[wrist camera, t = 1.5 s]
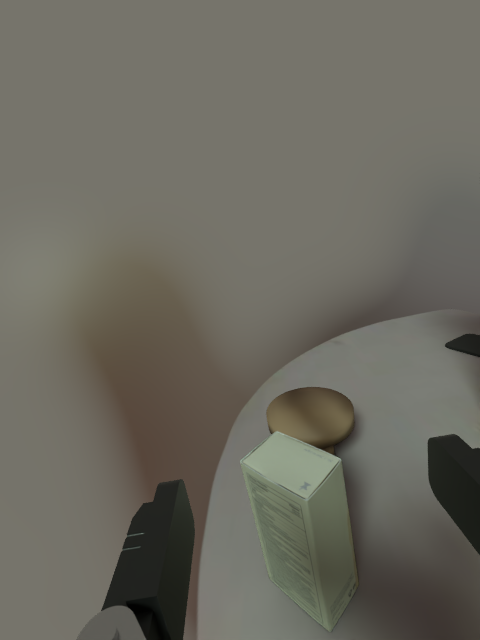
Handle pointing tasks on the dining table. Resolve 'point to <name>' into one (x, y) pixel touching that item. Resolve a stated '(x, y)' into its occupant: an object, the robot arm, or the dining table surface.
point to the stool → (312, 416)
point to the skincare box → (303, 524)
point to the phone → (466, 344)
